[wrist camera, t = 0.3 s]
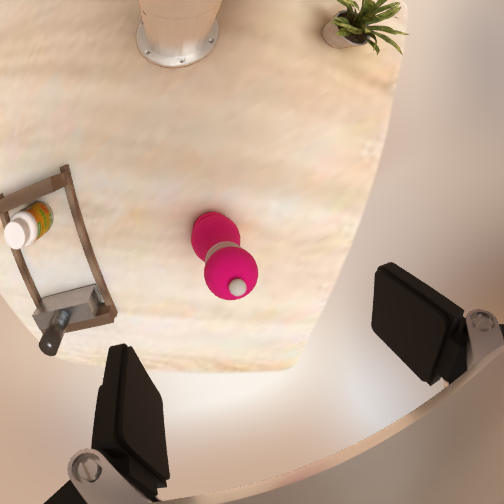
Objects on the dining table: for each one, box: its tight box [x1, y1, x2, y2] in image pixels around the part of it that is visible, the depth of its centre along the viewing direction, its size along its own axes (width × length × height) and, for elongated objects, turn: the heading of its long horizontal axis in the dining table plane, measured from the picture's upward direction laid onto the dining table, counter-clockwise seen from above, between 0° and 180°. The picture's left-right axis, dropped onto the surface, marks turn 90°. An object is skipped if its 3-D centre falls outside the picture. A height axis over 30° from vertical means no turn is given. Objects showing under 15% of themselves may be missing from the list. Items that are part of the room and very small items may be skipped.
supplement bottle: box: [4, 202, 53, 249], centre depth 32 cm, size 5×5×10 cm
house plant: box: [322, 0, 408, 55], centre depth 30 cm, size 14×14×16 cm
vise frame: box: [0, 165, 117, 334], centre depth 36 cm, size 27×16×8 cm, turn 9°
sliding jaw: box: [32, 284, 101, 356], centre depth 36 cm, size 3×12×14 cm, turn 99°
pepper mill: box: [191, 212, 258, 300], centre depth 37 cm, size 7×7×20 cm
